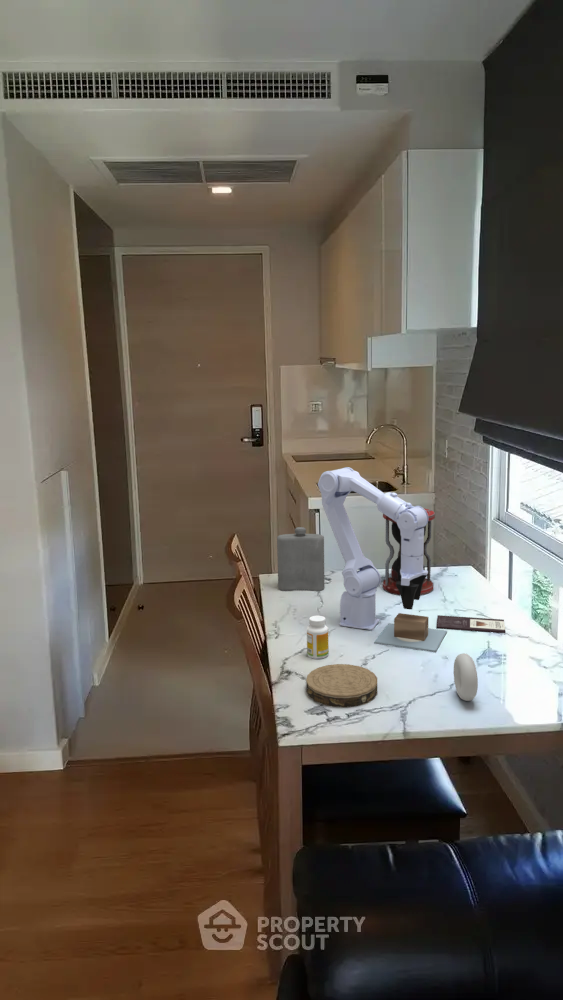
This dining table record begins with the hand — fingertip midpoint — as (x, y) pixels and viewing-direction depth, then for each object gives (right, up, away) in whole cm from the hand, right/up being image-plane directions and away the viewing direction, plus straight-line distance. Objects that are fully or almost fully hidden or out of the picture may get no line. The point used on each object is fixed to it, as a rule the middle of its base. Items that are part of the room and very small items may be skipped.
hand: (411, 604), depth 185 cm
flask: (-28, -2, +44) cm, 52 cm away
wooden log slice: (-20, -16, -27) cm, 37 cm away
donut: (+6, -16, -32) cm, 36 cm away
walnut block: (0, -9, +2) cm, 9 cm away
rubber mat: (0, -9, +2) cm, 9 cm away
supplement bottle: (-25, -12, -7) cm, 29 cm away
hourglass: (+7, -1, +42) cm, 43 cm away
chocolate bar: (+18, -8, +10) cm, 22 cm away
